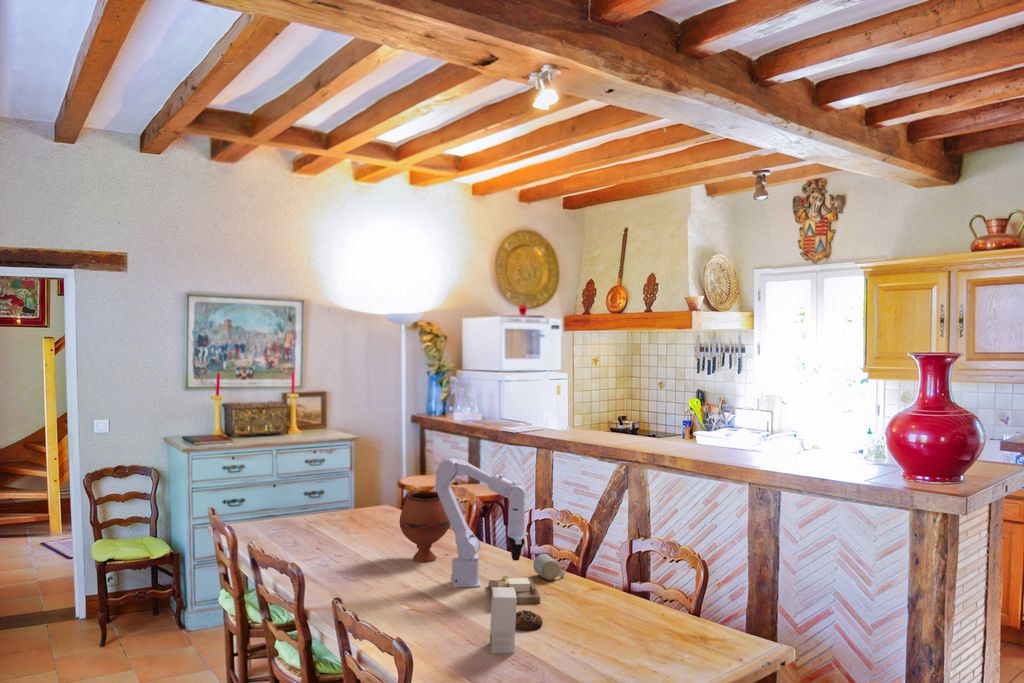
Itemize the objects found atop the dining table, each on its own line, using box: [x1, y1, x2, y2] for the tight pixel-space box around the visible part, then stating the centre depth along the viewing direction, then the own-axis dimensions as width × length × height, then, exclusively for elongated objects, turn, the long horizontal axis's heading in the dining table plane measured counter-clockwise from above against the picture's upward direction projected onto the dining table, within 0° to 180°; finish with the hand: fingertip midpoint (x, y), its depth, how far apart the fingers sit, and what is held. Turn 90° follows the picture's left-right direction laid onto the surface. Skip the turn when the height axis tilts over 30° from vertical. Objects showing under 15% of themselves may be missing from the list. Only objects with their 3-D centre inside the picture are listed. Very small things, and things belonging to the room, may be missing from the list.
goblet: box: [399, 491, 451, 564], centre depth 292 cm, size 19×19×25 cm
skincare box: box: [489, 587, 517, 655], centre depth 209 cm, size 8×7×16 cm
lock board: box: [488, 577, 541, 605], centre depth 254 cm, size 15×18×4 cm
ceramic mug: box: [532, 553, 566, 581], centre depth 274 cm, size 11×8×8 cm
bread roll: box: [515, 609, 543, 632], centre depth 227 cm, size 11×11×5 cm
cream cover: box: [507, 577, 530, 591], centre depth 254 cm, size 7×6×2 cm
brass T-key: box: [498, 575, 509, 587], centre depth 245 cm, size 12×2×5 cm, turn 170°
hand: (515, 559), depth 261 cm, fingers closed
